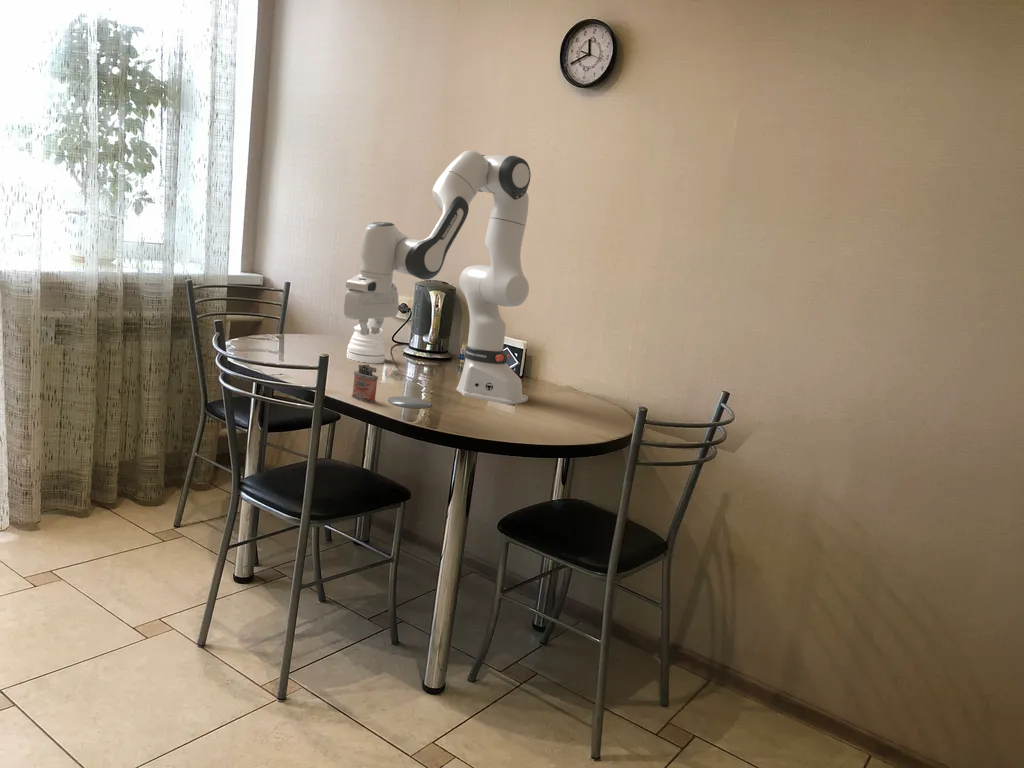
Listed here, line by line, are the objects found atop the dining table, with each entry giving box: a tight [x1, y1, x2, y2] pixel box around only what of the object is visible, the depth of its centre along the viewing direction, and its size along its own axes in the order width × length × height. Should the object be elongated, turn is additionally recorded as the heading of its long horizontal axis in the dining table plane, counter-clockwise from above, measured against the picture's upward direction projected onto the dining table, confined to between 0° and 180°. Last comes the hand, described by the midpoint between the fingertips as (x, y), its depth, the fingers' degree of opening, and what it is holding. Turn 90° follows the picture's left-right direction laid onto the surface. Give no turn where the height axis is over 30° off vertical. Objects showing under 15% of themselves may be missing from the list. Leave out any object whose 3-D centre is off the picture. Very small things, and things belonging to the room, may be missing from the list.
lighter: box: [351, 363, 379, 404], centre depth 217 cm, size 8×3×10 cm, turn 54°
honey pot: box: [346, 318, 386, 364], centre depth 272 cm, size 13×13×18 cm
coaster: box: [387, 395, 432, 410], centre depth 221 cm, size 12×12×1 cm
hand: (369, 334), depth 215 cm, fingers open, 3 cm apart
